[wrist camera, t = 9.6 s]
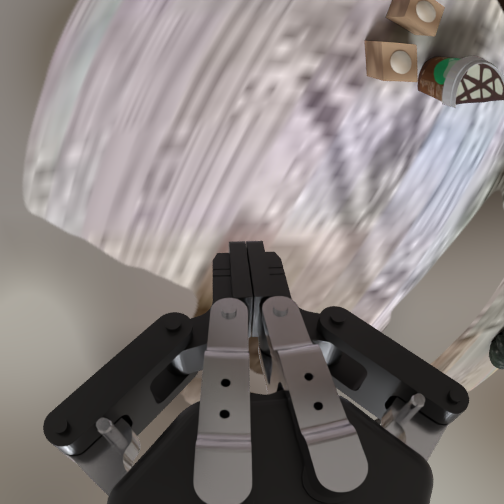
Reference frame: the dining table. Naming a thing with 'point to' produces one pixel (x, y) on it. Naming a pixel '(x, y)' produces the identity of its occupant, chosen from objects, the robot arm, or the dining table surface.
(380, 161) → the dining table surface
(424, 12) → the marked block
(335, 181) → the dining table surface
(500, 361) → the squash
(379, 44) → the marked block
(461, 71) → the food container
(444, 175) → the dining table surface
